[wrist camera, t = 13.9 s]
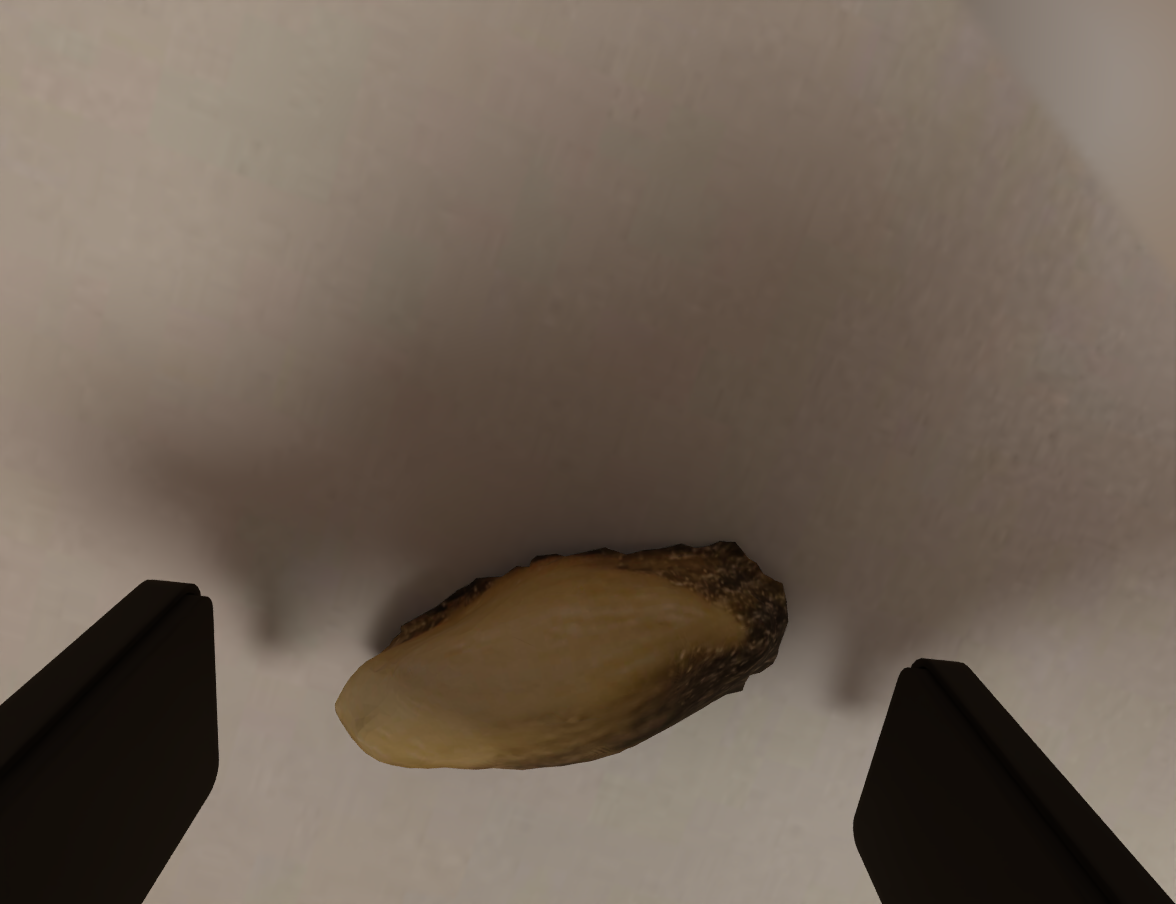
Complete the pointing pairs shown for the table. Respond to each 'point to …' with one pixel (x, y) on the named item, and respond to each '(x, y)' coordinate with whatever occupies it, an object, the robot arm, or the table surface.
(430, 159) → the table surface
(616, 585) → the brazil nut
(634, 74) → the table surface
